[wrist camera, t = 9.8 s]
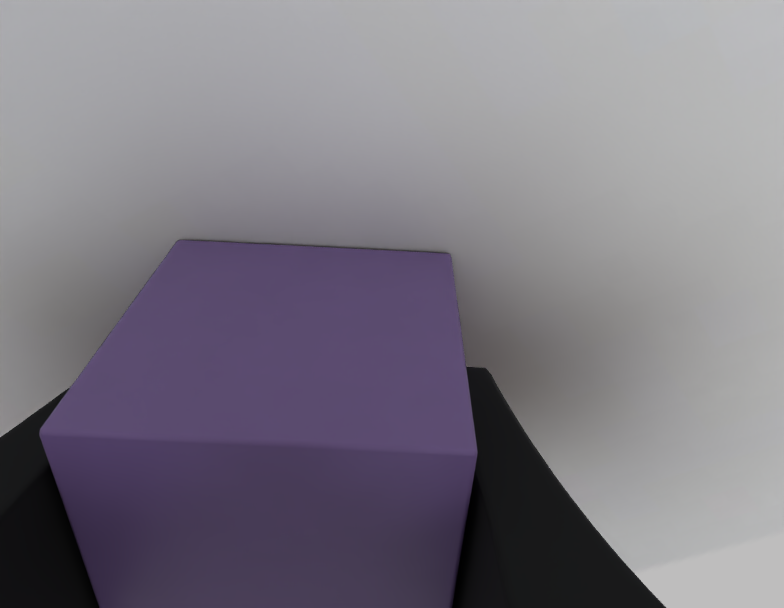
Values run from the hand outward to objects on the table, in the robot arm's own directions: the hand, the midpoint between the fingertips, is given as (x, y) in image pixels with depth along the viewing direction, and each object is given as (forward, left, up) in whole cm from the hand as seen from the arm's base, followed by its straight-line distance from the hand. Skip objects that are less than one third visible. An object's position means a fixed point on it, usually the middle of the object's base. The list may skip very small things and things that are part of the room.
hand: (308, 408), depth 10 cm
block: (0, 0, -1) cm, 1 cm away
